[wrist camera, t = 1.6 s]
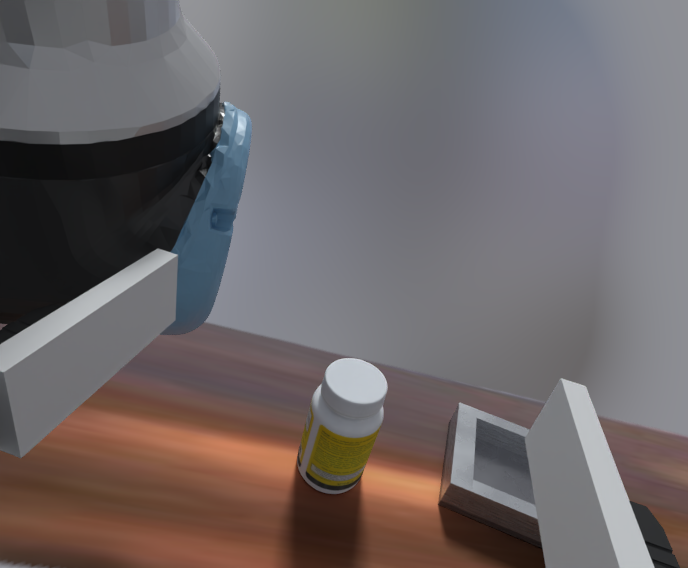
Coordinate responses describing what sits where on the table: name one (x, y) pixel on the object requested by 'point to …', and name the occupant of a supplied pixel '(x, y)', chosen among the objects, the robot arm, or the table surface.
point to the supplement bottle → (342, 425)
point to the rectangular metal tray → (489, 474)
